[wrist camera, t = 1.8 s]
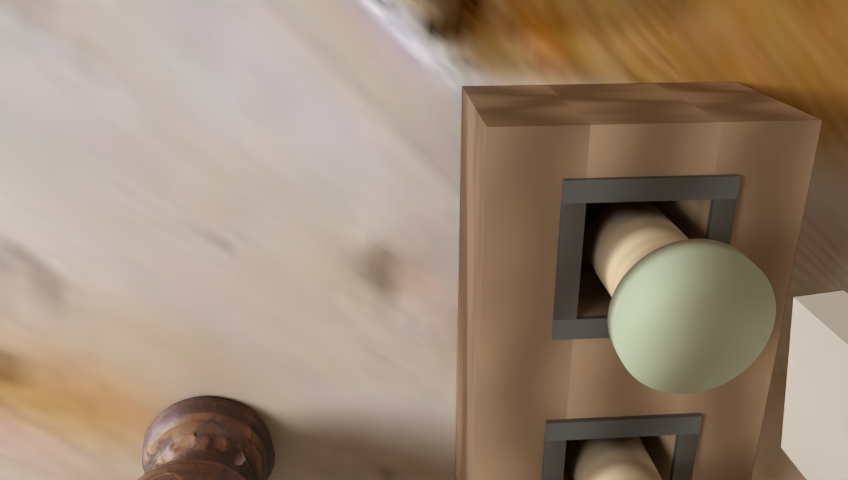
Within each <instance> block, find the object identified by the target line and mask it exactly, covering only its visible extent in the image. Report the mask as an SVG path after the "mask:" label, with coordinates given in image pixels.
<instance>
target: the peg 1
mask: <svg viewBox="0 0 848 480" xmlns="http://www.w3.org/2000/svg"><path fill="white" fill-rule="evenodd" d="M566 462H567V466H568V469H569V471H570V474H571V477H572V479H573V480H662V479H661V477H660V475H659V473H658V471H657V469H656V468H655V466H654V464H653V462H652V460H651V458H650V456H649V454H648V453H647V451H646V449H645V447H644V445H643V443H642V441H641V440H640V438H639V437H622V438H602V439H582V440H572V442H571V443H570V445H569V447H568V450H567V454H566Z"/></svg>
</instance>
